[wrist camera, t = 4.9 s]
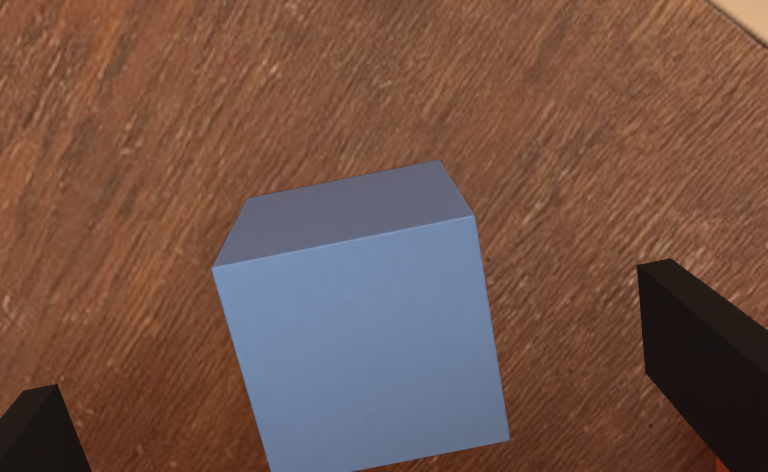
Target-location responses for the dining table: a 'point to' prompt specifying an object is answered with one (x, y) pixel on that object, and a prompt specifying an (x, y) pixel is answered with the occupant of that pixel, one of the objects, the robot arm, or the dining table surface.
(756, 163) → the dining table surface
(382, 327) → the blue block
